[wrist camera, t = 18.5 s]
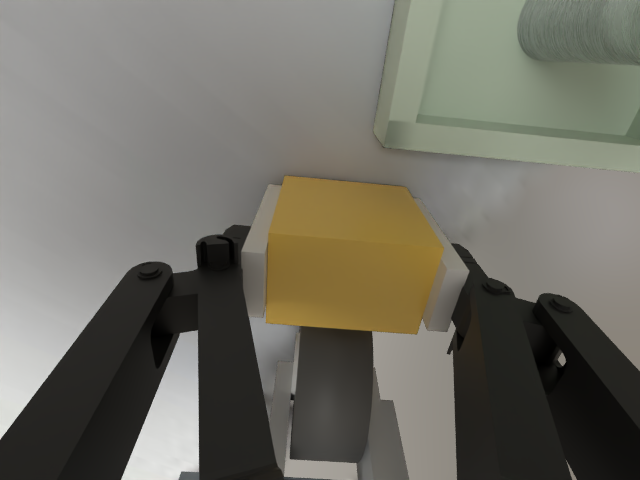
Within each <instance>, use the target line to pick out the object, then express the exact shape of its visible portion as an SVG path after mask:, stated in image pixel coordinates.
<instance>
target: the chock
mask: <svg viewBox="0 0 640 480" xmlns="http://www.w3.org/2000/svg"><path fill="white" fill-rule="evenodd" d="M443 251H444V247H443V245H442V244H441V242H440V240H439V239H438V237H437V236H436V234H435V232H434V231H433V229H432V228H431V226H430V224H429V223H428V221H427V220H426V218H425V216H424V215H423V213H422V212H421V210H420V208H419V207H418V205H417V204H416V202H415V200H414V199H413V197H412V196H411V194H410V192H409V191H408V189H407V188H406V187H402V186H391V185H381V184H370V183H360V182H349V181H338V180H328V179H317V178H307V177H296V176H285V177H284V180H283V183H282V187H281V190H280V194H279V197H278V201H277V204H276V208H275V211H274V215H273V218H272V222H271V225H270V229H269V232H268V263H267V299H266V323H270V324H283V325H297V326H310V327H323V328H337V329H350V330H364V331H377V332H391V333H404V334H417V333H418V330H419V326H420V323H421V320H422V317H423V313H424V310H425V307H426V304H427V301H428V298H429V295H430V291H431V288H432V285H433V282H434V279H435V276H436V272H437V269H438V266H439V263H440V260H441V257H442V254H443Z"/></svg>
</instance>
